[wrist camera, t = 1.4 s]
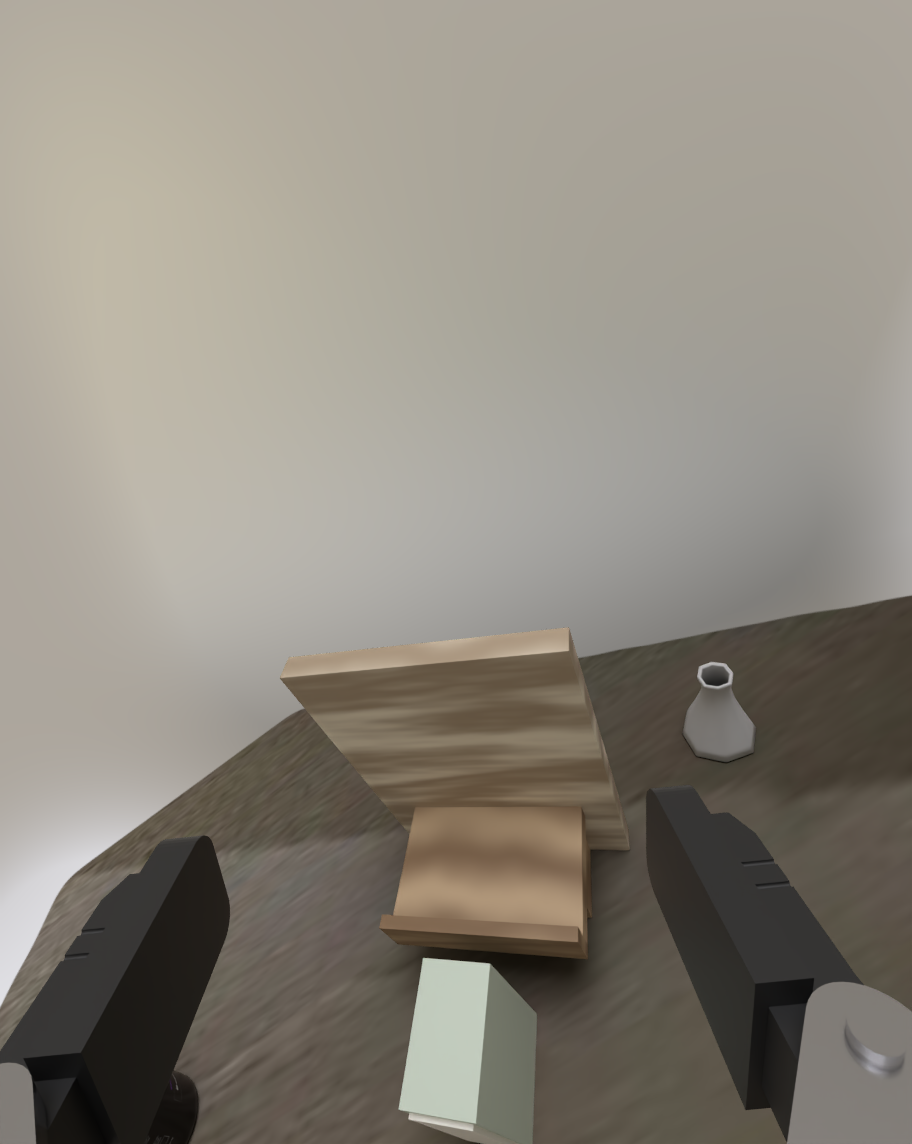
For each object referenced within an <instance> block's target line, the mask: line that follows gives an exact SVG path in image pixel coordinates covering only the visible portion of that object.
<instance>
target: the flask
mask: <svg viewBox="0 0 912 1144" xmlns="http://www.w3.org/2000/svg"><path fill="white" fill-rule="evenodd" d="M697 679H698V681H699V682H700V683H701V690H700V692H699V694H698V695H697V697H696V699H695V700H694V702H693V703H692V705H691V706H690V707H689V709H688V710H687V713H686V718H685V723H684V728H683V733H682V734H683V735H684V737H685V739H686V740H687V742H688V744H689V745H690V747H691V748H692V750H693V752H694V753H695V755H696V756H698V757H703V758H708V759H713V760H717V761H722V762H729V761H732V760H734V759H737V758H740V757H743V756H745V755H748V754H751V753H754V744H755V735H756V727H755V726H754V724H753V723H752V722H751V720H750V719H749V718H748V716H747V715H746V714H745V712H744V711H743V709H742V708H741V706H740V705H739V703H738V702H737V700H736V699H735V697H734V695H733V692H732V689H731V686H732V681H733V672H732V671H731V670H730V669H729V667H728V666H727V665H726V664H724V663H716V662H710V663H707V664H704V665H702V666H699V670H698V675H697Z"/></svg>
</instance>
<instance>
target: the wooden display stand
mask: <svg viewBox="0 0 912 1144" xmlns="http://www.w3.org/2000/svg"><path fill="white" fill-rule="evenodd" d="M280 679H281V680H282V681H283V683H284V684H285V685H286V686H287V687H288V689H289V690H290V691H291V692H292V693H293V695H294V696H295V697H296V698H297V700H298V701H299V702H300V703H301V704H302V705H303V707H304V708H305V709H306V710H307V712H308V713H309V714H310V715H311V716H312V718H313V719H314V720H315V721H316V722H317V724H318V725H319V726H320V727H321V728H322V730H323V731H324V732H325V733H326V734H327V736H328V737H329V738H330V739H331V740H332V742H333V743H334V744H335V745H336V746H337V748H338V749H339V750H340V751H341V752H342V754H343V755H344V756H345V757H346V758H347V760H348V761H349V762H350V763H351V764H352V766H353V767H354V768H355V769H356V770H357V772H358V773H359V774H360V775H361V776H362V778H363V779H364V780H365V781H366V782H367V784H368V785H369V786H370V787H371V788H372V790H373V791H374V792H375V793H376V794H377V796H378V797H379V798H380V799H381V800H382V802H383V803H384V804H385V805H386V806H387V808H388V809H389V810H390V811H391V812H392V814H393V815H394V816H395V817H396V818H397V820H398V821H399V822H400V823H401V824H402V826H403V827H404V828H405V829H406V831H407V832H408V833H409V834H410V835H409V840H408V845H407V850H406V855H405V860H404V865H403V870H402V875H401V880H400V884H399V889H398V894H397V899H396V904H395V909H394V914H393V915H382V918H381V923H380V927H379V928H380V929H381V930H382V931H383V932H384V933H385V934H387V935H388V936H389V937H390V938H391V939H392V940H394V941H395V942H396V943H397V944H402V945H414V946H427V947H440V948H452V949H465V950H478V951H490V952H503V953H516V954H528V955H541V956H554V957H566V958H579V959H588V941H587V918H592V899H591V854H590V850H630V844H629V829H628V826H627V823H626V819H625V816H624V813H623V809H622V806H621V802H620V799H619V796H618V792H617V789H616V785H615V782H614V779H613V775H612V772H611V768H610V765H609V762H608V758H607V755H606V751H605V748H604V745H603V741H602V738H601V734H600V731H599V728H598V724H597V721H596V718H595V714H594V711H593V707H592V704H591V701H590V697H589V694H588V690H587V687H586V684H585V680H584V677H583V673H582V670H581V667H580V663H579V660H578V656H577V653H576V650H575V646H574V643H573V640H572V636H571V633H570V630H569V627H568V628H559V629H550V630H541V631H531V632H522V633H513V634H503V635H494V636H485V637H476V638H466V639H456V640H447V641H438V642H429V643H420V644H411V645H401V646H392V647H381V648H372V649H363V650H354V651H344V652H335V653H326V654H316V655H307V656H298V657H289V659H288V661H287V663H286V665H285V667H284V669H283V672H282V674H281V676H280Z"/></svg>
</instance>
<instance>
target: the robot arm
mask: <svg viewBox="0 0 912 1144" xmlns="http://www.w3.org/2000/svg"><path fill="white" fill-rule="evenodd" d="M646 855H647V865H648V871H649V876H650V880H651V884H652V887H653V890H654V893H655V896H656V898H657V901H658V903H659V905H660V908H661V910H662V913H663V915H664V917H665V920H666V922H667V924H668V927H669V929H670V932H671V934H672V936H673V939H674V941H675V943H676V946H677V948H678V951H679V953H680V955H681V958H682V960H683V962H684V965H685V967H686V970H687V972H688V974H689V977H690V979H691V981H692V984H693V986H694V989H695V991H696V993H697V996H698V998H699V1000H700V1003H701V1005H702V1008H703V1010H704V1012H705V1015H706V1017H707V1019H708V1022H709V1024H710V1027H711V1029H712V1031H713V1034H714V1036H715V1038H716V1041H717V1043H718V1045H719V1048H720V1050H721V1053H722V1055H723V1057H724V1060H725V1062H726V1064H727V1067H728V1069H729V1072H730V1074H731V1076H732V1079H733V1081H734V1083H735V1086H736V1088H737V1091H738V1093H739V1095H740V1098H741V1100H742V1102H743V1105H744V1107H745V1110H751V1109H762V1108H771V1109H772V1111H773V1113H774V1115H775V1118H776V1120H777V1122H778V1124H779V1126H780V1128H781V1131H782V1133H783V1135H784V1137H785V1139H786V1142H787V1144H912V1012H911V1011H910V1010H909V1009H907V1008H906V1007H905V1006H903V1005H902V1004H901V1003H899V1002H898V1001H896V1000H894V999H893V998H891V997H890V996H888V995H886V994H884V993H882V992H880V991H878V990H876V989H873V988H870V987H867V986H865V985H863V984H862V982H861V981H860V980H859V978H858V977H857V976H856V975H855V973H854V972H853V971H852V969H851V968H850V966H849V965H848V964H847V962H846V961H845V959H844V958H843V956H842V955H841V954H840V952H839V951H838V949H837V948H836V947H835V945H834V944H833V942H832V941H831V939H830V938H829V937H828V935H827V934H826V932H825V931H824V930H823V928H822V927H821V925H820V924H819V922H818V921H817V920H816V918H815V917H814V915H813V914H812V913H811V911H810V910H809V908H808V907H807V906H806V904H805V903H804V901H803V900H802V898H801V897H800V896H799V894H798V893H797V891H796V890H795V889H794V887H791V886H790V884H789V880H788V879H787V877H786V876H785V874H784V873H783V872H782V870H781V869H780V867H779V866H778V864H775V863H774V859H773V857H772V856H771V855H770V853H769V852H768V850H767V849H766V848H765V846H764V845H763V843H762V842H761V840H760V839H759V838H758V836H757V835H756V833H755V832H753V831H752V830H751V829H749V828H748V827H747V826H745V825H744V824H743V823H741V822H740V821H739V820H737V819H736V818H735V817H733V816H732V815H731V814H729V813H718V814H710V812H709V811H708V809H707V808H706V806H705V804H704V803H703V801H702V800H701V798H700V796H699V795H698V793H697V792H696V790H695V789H694V788H693V787H692V786H691V785H684V786H674V787H665V788H655V789H649V790H648V791H647V796H646ZM229 919H230V904H229V898H228V895H227V891H226V888H225V884H224V881H223V877H222V874H221V870H220V867H219V863H218V860H217V857H216V853H215V850H214V846H213V843H212V841H211V839H210V838H209V837H208V836H195V837H185V838H175V839H166V840H163V841H161V842H160V843H159V844H158V845H157V847H156V848H155V850H154V851H153V853H152V854H151V856H150V857H149V859H148V861H147V862H146V864H145V865H144V867H143V869H142V870H141V872H140V873H138V874H130V875H128V876H127V877H126V878H125V879H124V880H123V881H122V882H121V883H120V884H119V885H118V886H117V887H115V888H114V889H113V890H112V891H111V892H110V893H109V894H108V895H107V896H106V897H105V898H103V899H102V900H101V902H100V903H99V905H98V906H97V908H96V909H95V911H94V912H93V914H92V915H91V917H90V918H89V920H88V921H87V923H86V924H85V926H84V927H83V929H82V933H81V936H77V938H76V939H75V940H74V942H73V943H72V945H71V946H70V948H69V949H68V951H67V952H66V954H65V959H64V961H61V962H60V963H59V964H58V966H57V967H56V969H55V970H54V972H53V973H52V975H51V976H50V978H49V979H48V981H47V982H46V984H45V985H44V987H43V988H42V990H41V991H40V993H39V994H38V996H37V997H36V999H35V1000H34V1002H33V1003H32V1005H31V1006H30V1008H29V1009H28V1011H27V1012H26V1014H25V1015H24V1016H23V1018H22V1019H21V1021H20V1022H19V1024H18V1025H17V1027H16V1028H15V1030H14V1031H13V1033H12V1034H11V1036H10V1037H9V1039H8V1040H7V1042H6V1043H5V1045H4V1046H3V1048H2V1049H1V1051H0V1144H144V1143H145V1140H146V1138H147V1135H148V1133H149V1130H150V1128H151V1125H152V1123H153V1120H154V1118H155V1115H156V1113H157V1110H158V1107H159V1105H160V1102H161V1100H162V1097H163V1095H164V1092H165V1090H166V1087H167V1085H168V1082H169V1080H170V1077H171V1075H172V1072H173V1070H174V1067H175V1065H176V1062H177V1060H178V1057H179V1055H180V1052H181V1050H182V1047H183V1045H184V1042H185V1040H186V1037H187V1034H188V1032H189V1029H190V1027H191V1024H192V1022H193V1019H194V1017H195V1014H196V1012H197V1009H198V1007H199V1004H200V1002H201V999H202V997H203V994H204V992H205V989H206V987H207V984H208V982H209V979H210V977H211V974H212V972H213V969H214V967H215V964H216V962H217V959H218V956H219V954H220V951H221V949H222V946H223V944H224V941H225V938H226V935H227V932H228V927H229Z"/></svg>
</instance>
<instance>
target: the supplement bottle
mask: <svg viewBox="0 0 912 1144" xmlns="http://www.w3.org/2000/svg"><path fill="white" fill-rule="evenodd" d="M197 1107H198V1100H197V1092H196V1088H195V1086H194V1084H193V1082H192V1080H191V1079H190V1078H189V1077H188V1076H186V1075H184V1074H182V1073H179V1072H177V1071H174V1070H173V1072H172V1075H171V1077H170V1080H169V1082H168V1085H167V1087H166V1090H165V1092H164V1095H163V1097H162V1100H161V1102H160V1105H159V1107H158V1110H157V1113H156V1115H155V1118H154V1120H153V1123H152V1125H151V1128H150V1130H149V1133H148V1135H147V1138H146V1140H145V1143H144V1144H187V1142H188V1140H189V1138H190V1136H191V1133H192V1131H193V1128H194V1124H195V1120H196V1115H197Z"/></svg>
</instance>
